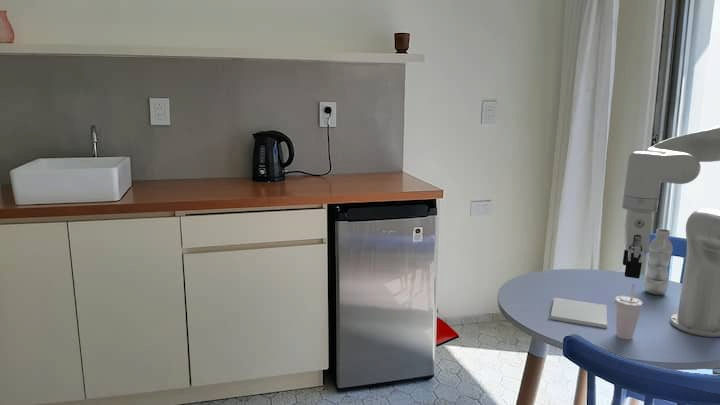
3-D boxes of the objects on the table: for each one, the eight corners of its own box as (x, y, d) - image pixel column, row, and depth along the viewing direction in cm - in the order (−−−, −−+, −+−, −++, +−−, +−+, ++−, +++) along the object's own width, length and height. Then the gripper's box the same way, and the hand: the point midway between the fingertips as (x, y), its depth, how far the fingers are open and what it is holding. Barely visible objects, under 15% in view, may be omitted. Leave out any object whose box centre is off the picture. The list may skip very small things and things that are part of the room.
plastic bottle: (669, 292, 164) (678, 230, 159) (663, 299, 159) (672, 234, 155) (646, 287, 168) (654, 226, 164) (640, 293, 163) (648, 230, 159)
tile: (605, 308, 152) (606, 305, 152) (606, 328, 139) (607, 324, 139) (553, 300, 157) (554, 297, 157) (550, 319, 145) (550, 315, 144)
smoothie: (642, 343, 131) (649, 289, 128) (614, 340, 132) (620, 287, 130) (634, 331, 137) (640, 280, 134) (607, 329, 139) (613, 278, 136)
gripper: (661, 212, 118) (651, 285, 122) (654, 198, 134) (644, 263, 137) (624, 208, 121) (615, 279, 125) (621, 195, 137) (612, 259, 140)
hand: (630, 271), depth 131 cm, fingers open, 9 cm apart
